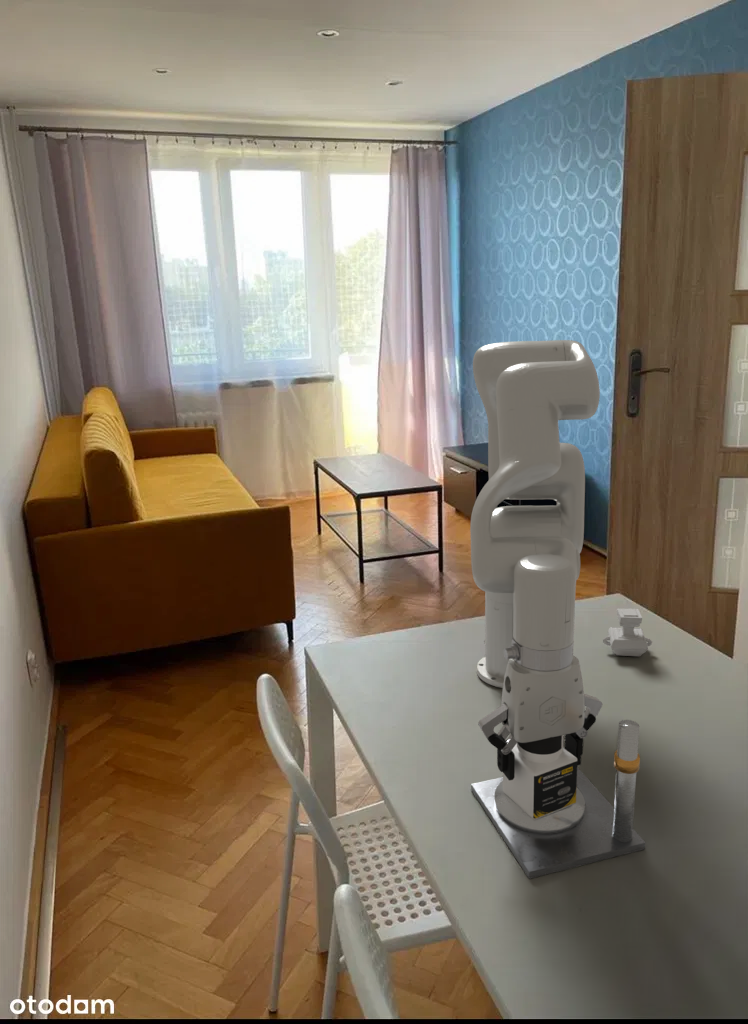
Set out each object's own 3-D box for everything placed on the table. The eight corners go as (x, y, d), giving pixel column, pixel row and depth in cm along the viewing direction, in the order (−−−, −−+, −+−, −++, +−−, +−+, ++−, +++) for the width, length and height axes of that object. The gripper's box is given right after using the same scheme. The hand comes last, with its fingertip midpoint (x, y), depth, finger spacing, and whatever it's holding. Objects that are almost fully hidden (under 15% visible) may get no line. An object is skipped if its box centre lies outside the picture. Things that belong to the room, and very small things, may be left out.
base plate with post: (471, 789, 110) (470, 682, 106) (572, 767, 114) (576, 663, 110) (528, 878, 94) (531, 756, 89) (644, 849, 98) (653, 730, 93)
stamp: (648, 645, 151) (651, 605, 148) (654, 661, 144) (657, 619, 142) (600, 643, 152) (602, 603, 150) (604, 659, 146) (606, 618, 144)
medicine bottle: (533, 821, 101) (535, 740, 97) (501, 791, 107) (501, 714, 104) (577, 804, 104) (580, 725, 100) (543, 776, 110) (545, 700, 107)
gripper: (492, 675, 93) (491, 797, 98) (619, 652, 98) (612, 770, 103) (468, 649, 100) (468, 763, 105) (587, 628, 105) (583, 739, 109)
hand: (540, 766), depth 104 cm, fingers open, 9 cm apart
